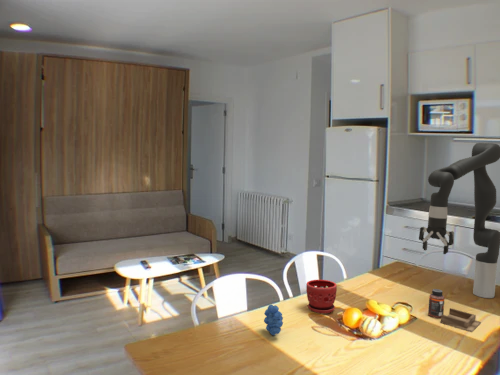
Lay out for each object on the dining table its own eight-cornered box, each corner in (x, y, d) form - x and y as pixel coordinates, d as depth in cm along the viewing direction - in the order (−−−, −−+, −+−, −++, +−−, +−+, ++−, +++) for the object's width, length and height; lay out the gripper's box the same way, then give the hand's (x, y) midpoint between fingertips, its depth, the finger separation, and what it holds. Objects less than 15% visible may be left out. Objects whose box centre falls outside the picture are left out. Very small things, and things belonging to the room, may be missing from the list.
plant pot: (340, 308, 183) (341, 282, 182) (328, 318, 172) (330, 290, 171) (312, 301, 190) (313, 276, 189) (300, 311, 179) (301, 284, 178)
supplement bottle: (444, 319, 173) (446, 293, 172) (429, 317, 175) (431, 292, 173) (441, 313, 179) (443, 288, 178) (426, 312, 180) (428, 287, 179)
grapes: (290, 339, 153) (291, 308, 151) (275, 342, 149) (276, 311, 148) (274, 326, 163) (275, 297, 162) (259, 329, 160) (260, 300, 159)
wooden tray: (450, 314, 178) (450, 307, 178) (480, 323, 170) (481, 316, 170) (440, 322, 170) (440, 315, 170) (471, 332, 162) (472, 324, 161)
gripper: (457, 217, 181) (454, 253, 182) (424, 213, 191) (422, 247, 192) (452, 219, 175) (448, 256, 177) (418, 214, 185) (415, 250, 187)
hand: (434, 252), depth 184 cm, fingers open, 8 cm apart
